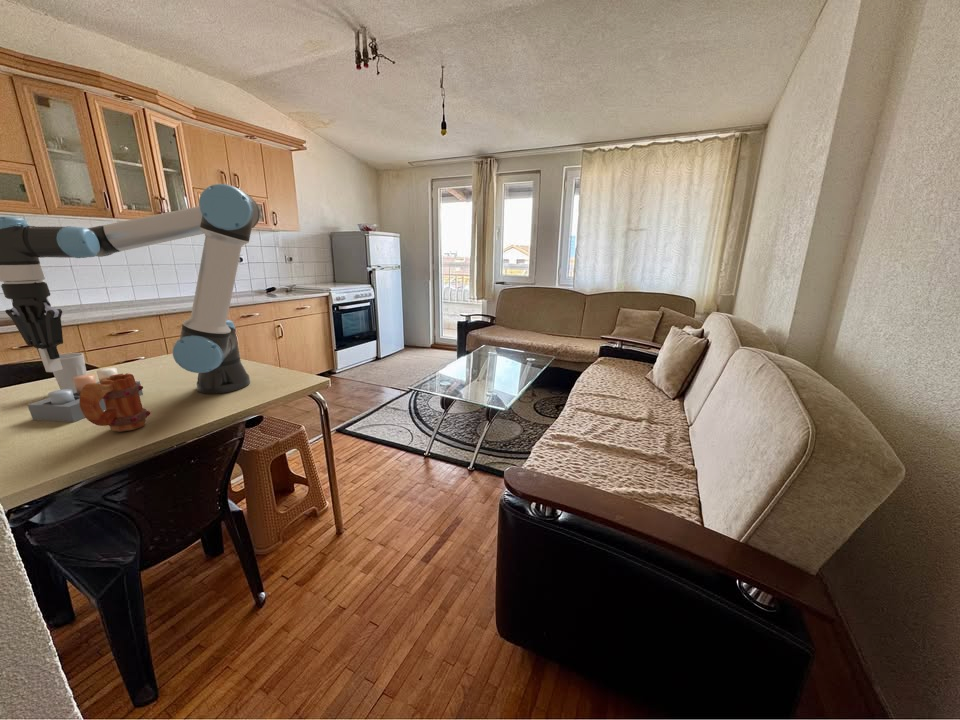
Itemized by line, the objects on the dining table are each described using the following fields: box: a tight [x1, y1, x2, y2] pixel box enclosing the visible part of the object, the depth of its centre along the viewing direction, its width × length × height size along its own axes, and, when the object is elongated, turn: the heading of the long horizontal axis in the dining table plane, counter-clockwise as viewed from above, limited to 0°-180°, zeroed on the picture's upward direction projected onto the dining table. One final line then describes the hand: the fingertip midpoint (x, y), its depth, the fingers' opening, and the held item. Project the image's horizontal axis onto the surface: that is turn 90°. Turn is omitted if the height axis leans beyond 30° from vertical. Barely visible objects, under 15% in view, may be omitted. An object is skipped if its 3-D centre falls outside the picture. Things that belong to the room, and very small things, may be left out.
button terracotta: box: [73, 373, 98, 395], centre depth 108 cm, size 4×4×5 cm
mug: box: [80, 372, 151, 433], centre depth 93 cm, size 15×8×15 cm, turn 5°
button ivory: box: [96, 367, 119, 382], centre depth 114 cm, size 4×4×5 cm
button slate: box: [47, 389, 75, 405], centre depth 102 cm, size 4×4×5 cm
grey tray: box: [27, 380, 144, 423], centre depth 109 cm, size 12×20×4 cm, turn 176°
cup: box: [52, 352, 88, 390], centre depth 119 cm, size 8×8×12 cm
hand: (54, 370), depth 100 cm, fingers closed
